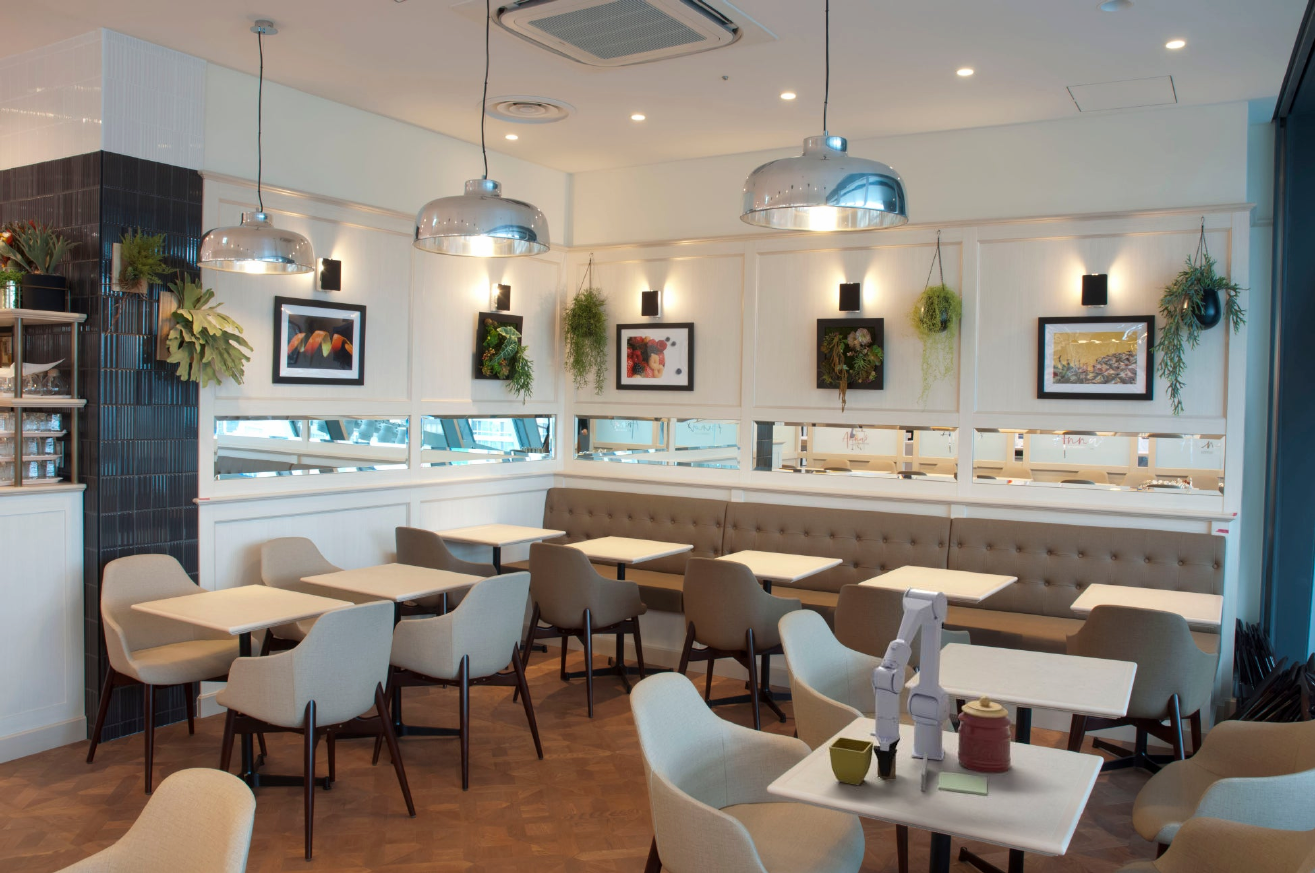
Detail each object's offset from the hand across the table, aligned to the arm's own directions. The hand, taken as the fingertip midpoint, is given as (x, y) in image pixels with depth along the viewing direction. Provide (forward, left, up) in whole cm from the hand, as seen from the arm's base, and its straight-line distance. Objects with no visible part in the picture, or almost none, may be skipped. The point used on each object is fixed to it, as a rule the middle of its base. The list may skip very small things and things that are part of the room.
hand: (886, 770), depth 238 cm
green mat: (-1, +18, -1) cm, 18 cm away
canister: (-17, +23, -2) cm, 29 cm away
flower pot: (+6, -8, -2) cm, 10 cm away
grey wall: (-1, +9, -1) cm, 9 cm away
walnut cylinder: (0, 0, -1) cm, 1 cm away
